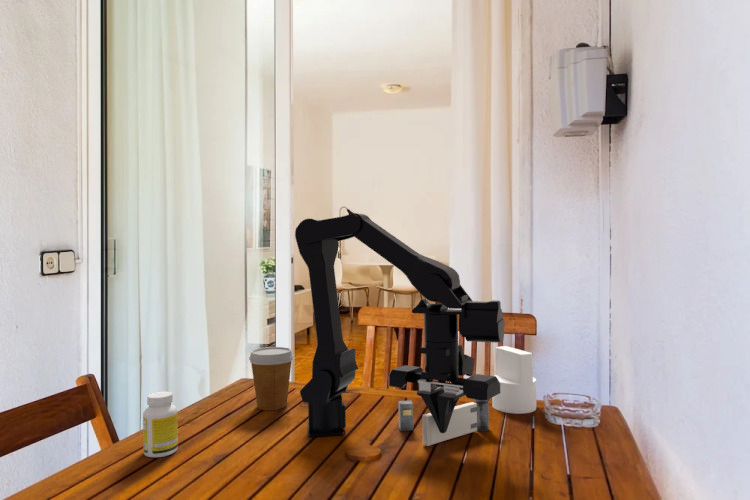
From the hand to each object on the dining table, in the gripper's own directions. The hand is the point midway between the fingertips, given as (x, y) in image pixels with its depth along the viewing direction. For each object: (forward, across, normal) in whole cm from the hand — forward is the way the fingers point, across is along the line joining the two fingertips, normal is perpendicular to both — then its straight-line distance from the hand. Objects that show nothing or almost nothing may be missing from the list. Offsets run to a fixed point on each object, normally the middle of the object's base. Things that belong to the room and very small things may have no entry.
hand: (443, 432), depth 90 cm
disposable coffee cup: (+2, +42, 0) cm, 42 cm away
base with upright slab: (+2, -1, -29) cm, 29 cm away
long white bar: (+2, +1, -5) cm, 5 cm away
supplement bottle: (+3, +39, +28) cm, 48 cm away
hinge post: (+2, -1, -12) cm, 13 cm away
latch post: (+2, +10, -4) cm, 12 cm away
